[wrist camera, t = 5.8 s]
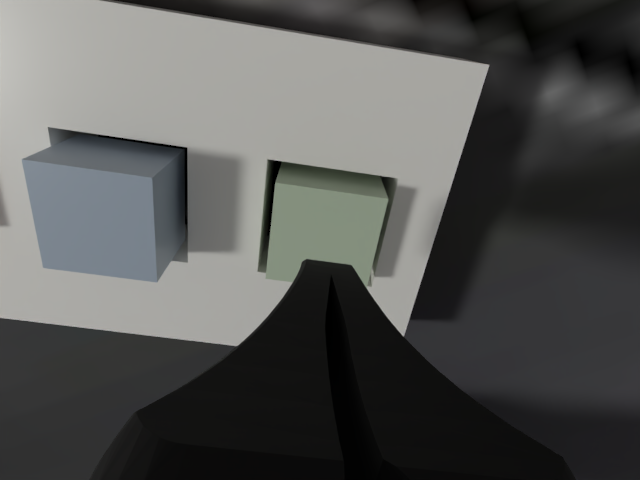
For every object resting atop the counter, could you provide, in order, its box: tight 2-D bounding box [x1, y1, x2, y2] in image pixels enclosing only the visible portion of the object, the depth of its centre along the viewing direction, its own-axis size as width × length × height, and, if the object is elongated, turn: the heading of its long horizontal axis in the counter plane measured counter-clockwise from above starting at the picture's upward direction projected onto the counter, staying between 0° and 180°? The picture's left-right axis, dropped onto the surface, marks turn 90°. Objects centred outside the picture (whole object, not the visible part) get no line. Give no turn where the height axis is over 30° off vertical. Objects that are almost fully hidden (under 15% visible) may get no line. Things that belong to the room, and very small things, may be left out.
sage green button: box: [265, 161, 388, 288], centre depth 15 cm, size 4×4×3 cm
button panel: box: [0, 0, 489, 346], centre depth 15 cm, size 22×12×3 cm, turn 82°
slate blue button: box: [22, 134, 185, 282], centre depth 14 cm, size 4×4×3 cm
